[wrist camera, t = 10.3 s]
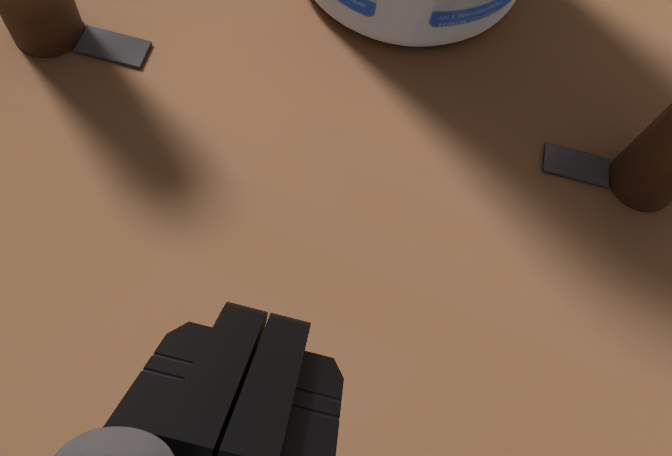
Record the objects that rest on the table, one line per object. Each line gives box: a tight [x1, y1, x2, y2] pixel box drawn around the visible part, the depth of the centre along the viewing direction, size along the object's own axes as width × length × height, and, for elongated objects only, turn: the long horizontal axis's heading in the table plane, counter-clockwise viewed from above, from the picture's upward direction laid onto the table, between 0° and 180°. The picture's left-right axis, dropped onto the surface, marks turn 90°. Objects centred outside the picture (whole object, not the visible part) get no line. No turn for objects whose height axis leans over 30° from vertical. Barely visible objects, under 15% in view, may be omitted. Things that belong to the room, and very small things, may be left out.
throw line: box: [0, 0, 672, 212], centre depth 18 cm, size 24×2×8 cm, turn 77°
